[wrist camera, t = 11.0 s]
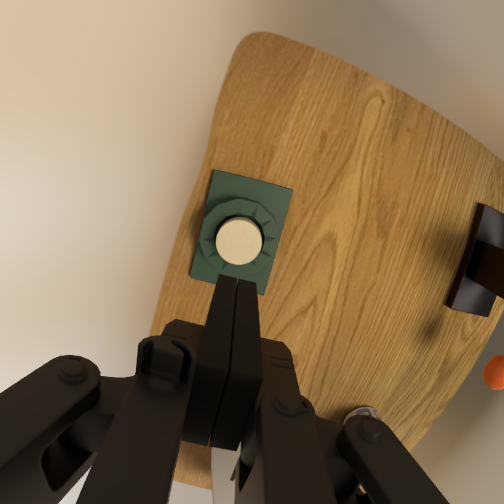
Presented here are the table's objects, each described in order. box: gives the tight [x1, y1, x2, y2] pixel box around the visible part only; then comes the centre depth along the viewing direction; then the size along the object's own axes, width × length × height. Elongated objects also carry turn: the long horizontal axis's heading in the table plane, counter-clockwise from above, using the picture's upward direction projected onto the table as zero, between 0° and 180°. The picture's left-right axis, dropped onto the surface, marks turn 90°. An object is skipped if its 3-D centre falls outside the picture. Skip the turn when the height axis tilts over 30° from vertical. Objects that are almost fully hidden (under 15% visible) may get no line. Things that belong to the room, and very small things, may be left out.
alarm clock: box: [211, 389, 301, 504], centre depth 25 cm, size 21×8×20 cm, turn 4°
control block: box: [190, 170, 293, 295], centre depth 28 cm, size 7×10×2 cm
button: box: [216, 217, 262, 265], centre depth 26 cm, size 4×4×2 cm
